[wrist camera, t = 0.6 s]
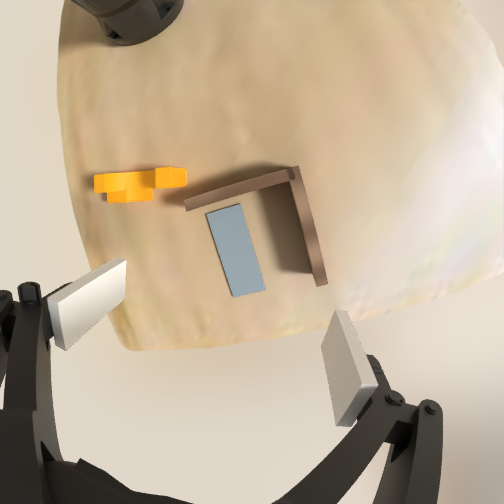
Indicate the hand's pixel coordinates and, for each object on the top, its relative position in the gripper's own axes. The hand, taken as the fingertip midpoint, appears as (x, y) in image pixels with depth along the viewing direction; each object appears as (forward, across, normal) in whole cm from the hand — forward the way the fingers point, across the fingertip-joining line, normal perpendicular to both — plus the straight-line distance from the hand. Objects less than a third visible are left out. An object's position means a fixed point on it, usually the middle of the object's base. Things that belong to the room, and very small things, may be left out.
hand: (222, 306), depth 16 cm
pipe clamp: (+24, -17, +3) cm, 30 cm away
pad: (+24, -2, -4) cm, 24 cm away
